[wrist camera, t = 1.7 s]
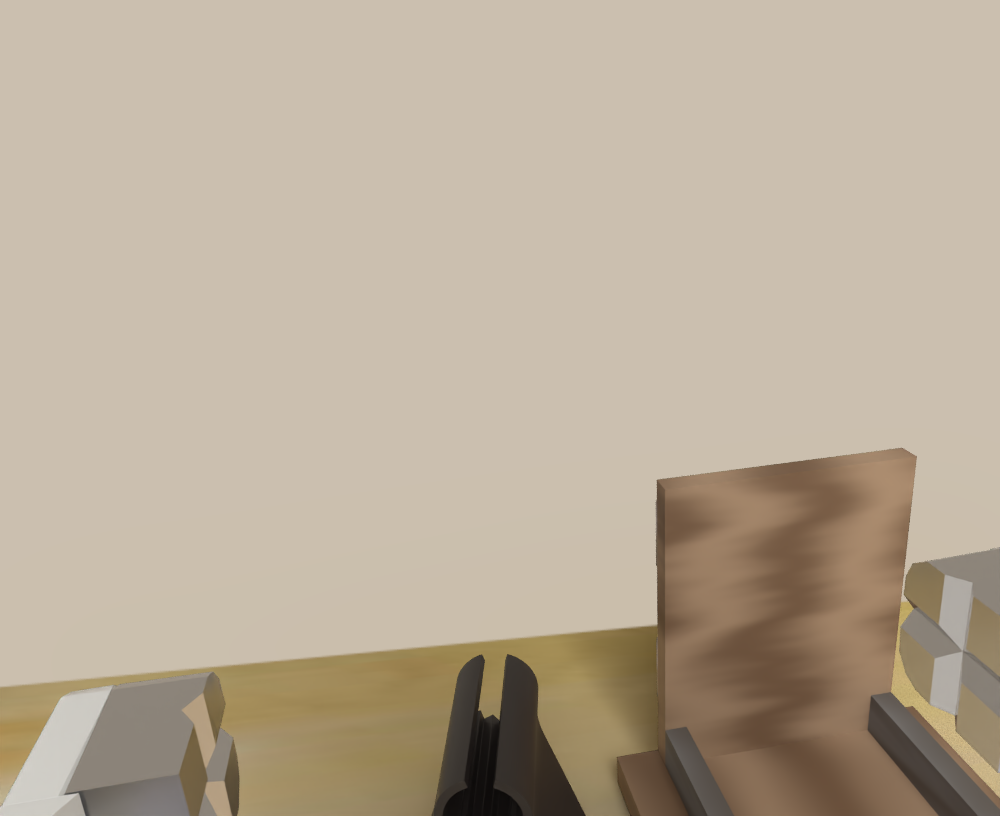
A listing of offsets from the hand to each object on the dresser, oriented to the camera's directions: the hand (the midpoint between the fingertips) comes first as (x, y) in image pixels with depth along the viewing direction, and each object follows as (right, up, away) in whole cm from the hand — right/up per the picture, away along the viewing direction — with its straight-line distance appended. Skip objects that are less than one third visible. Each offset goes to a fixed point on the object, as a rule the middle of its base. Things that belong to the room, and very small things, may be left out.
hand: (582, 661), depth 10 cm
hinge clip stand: (+13, -16, +24) cm, 32 cm away
